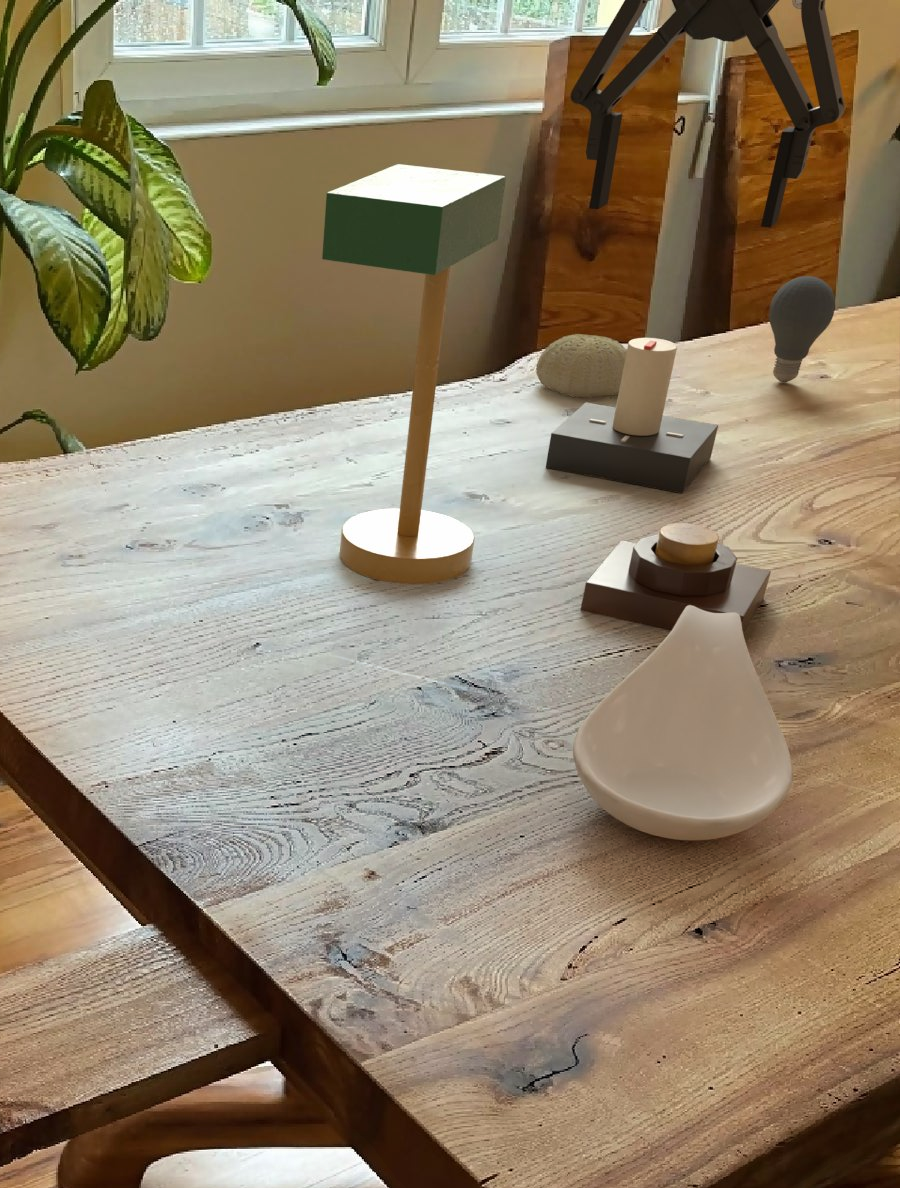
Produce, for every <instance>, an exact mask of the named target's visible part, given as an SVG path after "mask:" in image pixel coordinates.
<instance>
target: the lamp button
mask: <svg viewBox="0 0 900 1188" xmlns="http://www.w3.org/2000/svg"><path fill="white" fill-rule="evenodd" d="M658 534H659V538H658V542H657V547H656V551H655V555H656V556H658V557H660V558H662V559H664V560H666V561H668V562H673V563H677V564H682V565H706V564H710V563H712V562H713V560H714V556H715V552H716V548H717V544H718V543H719V540H720V536H719V534H718V533H717V532H716V531H715V530H713V529H711V528H709V527H706V526H703V525H700V524H695V523H688V522H674V523H668V524H666V525H664V526H662V527H661V528H660V529H659V533H658Z"/></svg>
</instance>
